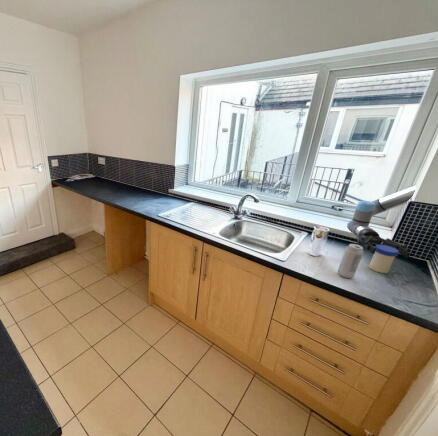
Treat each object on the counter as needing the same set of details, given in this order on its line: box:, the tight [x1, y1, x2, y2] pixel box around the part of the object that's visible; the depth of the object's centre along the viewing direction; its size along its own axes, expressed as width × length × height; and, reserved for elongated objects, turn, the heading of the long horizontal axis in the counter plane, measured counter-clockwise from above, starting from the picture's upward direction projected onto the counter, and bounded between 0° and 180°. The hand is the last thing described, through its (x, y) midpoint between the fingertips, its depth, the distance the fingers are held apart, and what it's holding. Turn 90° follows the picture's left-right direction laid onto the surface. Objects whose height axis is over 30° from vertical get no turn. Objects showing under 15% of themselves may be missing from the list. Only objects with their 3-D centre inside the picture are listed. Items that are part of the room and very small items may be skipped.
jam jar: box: [368, 251, 396, 274], centre depth 115 cm, size 7×7×11 cm
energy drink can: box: [337, 243, 365, 279], centre depth 109 cm, size 6×6×15 cm
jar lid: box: [374, 244, 399, 258], centre depth 114 cm, size 8×8×2 cm
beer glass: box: [307, 225, 331, 257], centre depth 128 cm, size 7×7×15 cm
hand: (391, 253), depth 110 cm, fingers open, 12 cm apart
